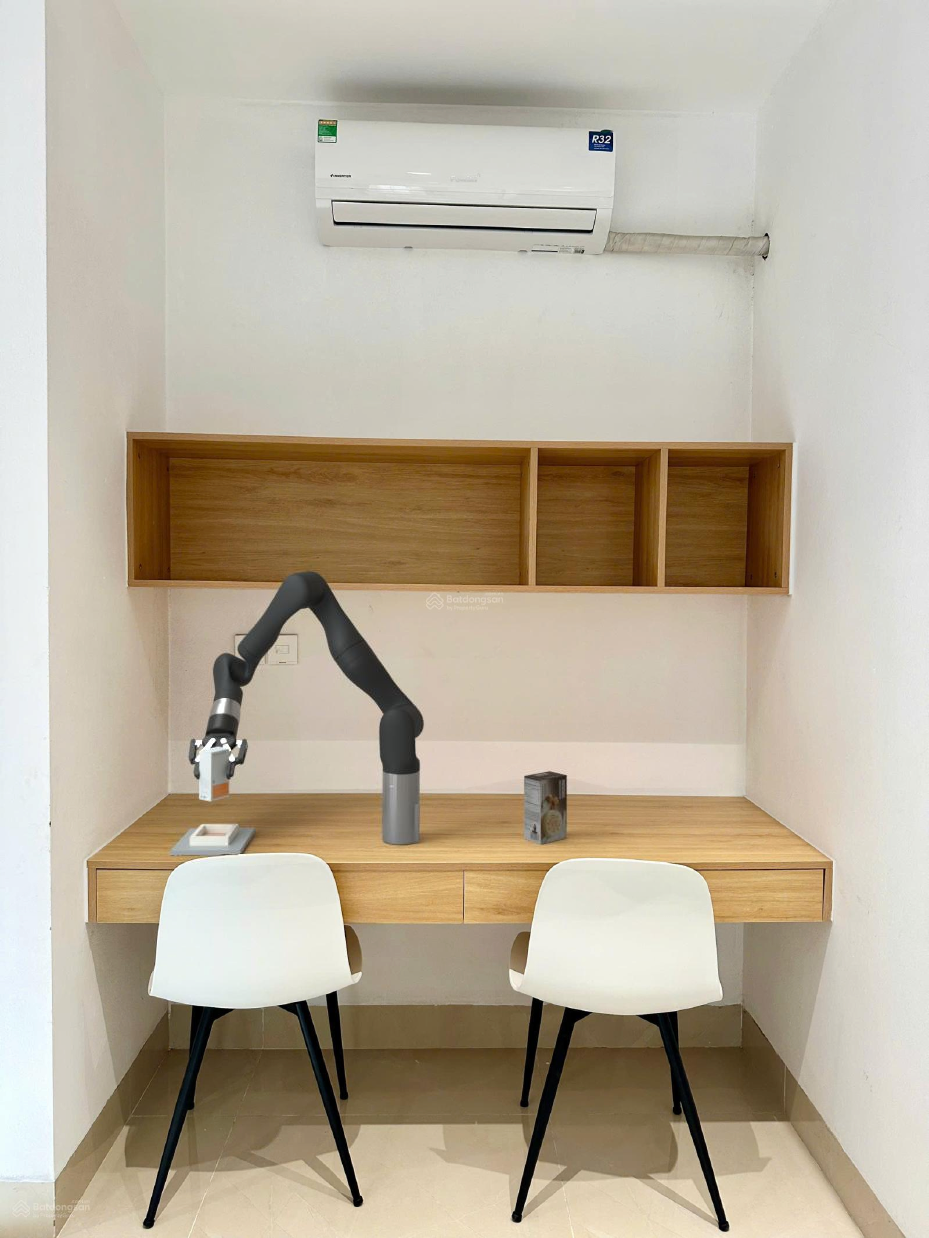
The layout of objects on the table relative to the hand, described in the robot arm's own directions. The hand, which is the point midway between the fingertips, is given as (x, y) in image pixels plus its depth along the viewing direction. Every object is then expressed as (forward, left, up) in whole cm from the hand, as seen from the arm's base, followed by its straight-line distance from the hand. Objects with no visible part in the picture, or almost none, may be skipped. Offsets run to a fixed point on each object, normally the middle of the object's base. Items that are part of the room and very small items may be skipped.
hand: (212, 777), depth 204 cm
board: (0, -1, -16) cm, 16 cm away
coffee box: (-81, -3, -17) cm, 83 cm away
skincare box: (0, -2, -6) cm, 6 cm away
